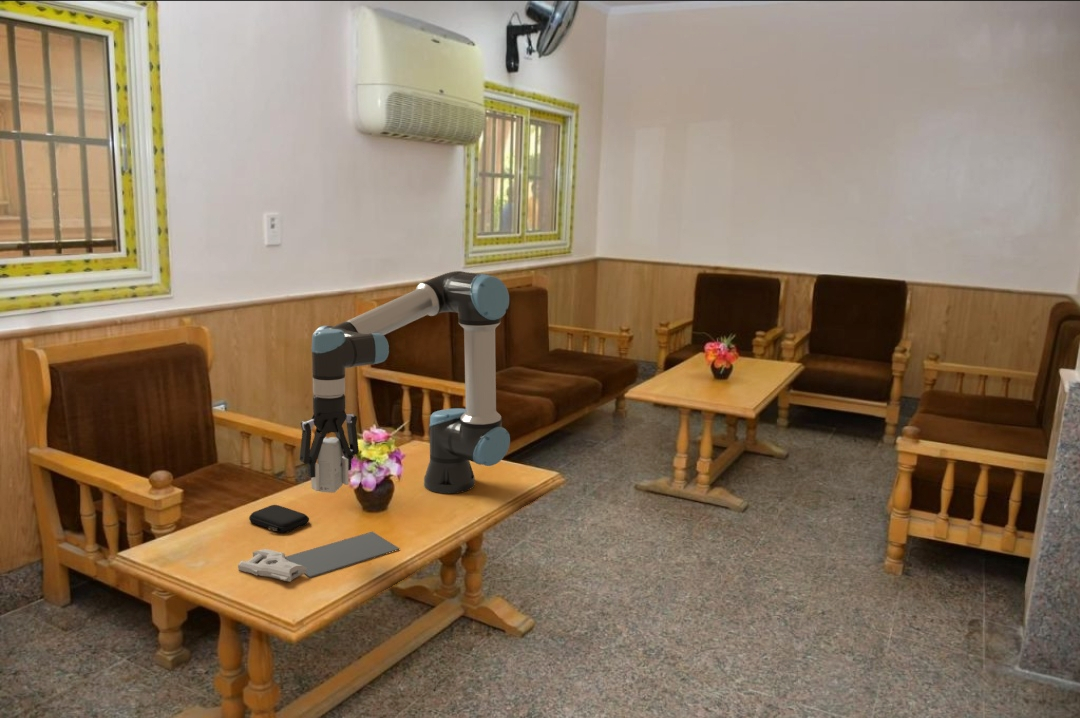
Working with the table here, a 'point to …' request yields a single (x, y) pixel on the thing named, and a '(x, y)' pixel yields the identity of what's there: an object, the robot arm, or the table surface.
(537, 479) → the table surface
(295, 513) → the carrying case or bag
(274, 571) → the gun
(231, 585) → the table surface
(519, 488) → the table surface
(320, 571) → the mat
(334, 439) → the skincare box
